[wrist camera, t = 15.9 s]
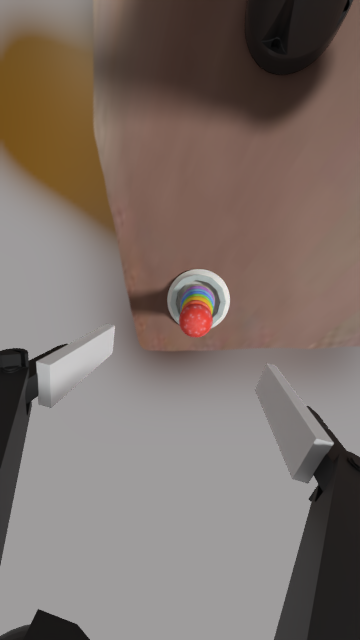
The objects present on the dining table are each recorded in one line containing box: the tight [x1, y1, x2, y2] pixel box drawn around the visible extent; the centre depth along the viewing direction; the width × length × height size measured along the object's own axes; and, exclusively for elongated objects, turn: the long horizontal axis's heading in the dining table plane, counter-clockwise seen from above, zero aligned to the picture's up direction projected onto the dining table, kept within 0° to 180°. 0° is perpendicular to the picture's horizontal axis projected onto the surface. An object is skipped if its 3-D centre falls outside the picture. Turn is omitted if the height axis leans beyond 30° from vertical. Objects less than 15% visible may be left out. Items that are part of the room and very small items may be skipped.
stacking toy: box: [179, 284, 215, 337], centre depth 32 cm, size 8×8×19 cm
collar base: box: [167, 269, 230, 328], centre depth 41 cm, size 15×15×3 cm
